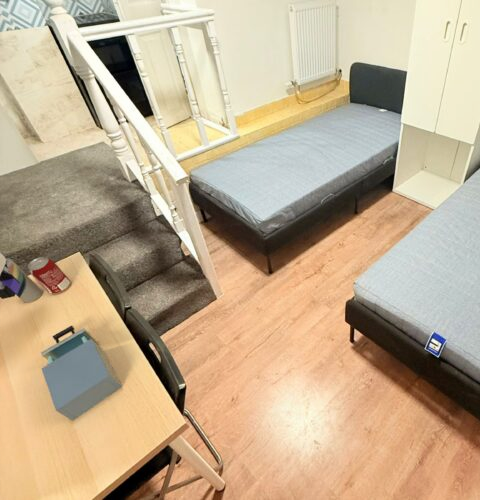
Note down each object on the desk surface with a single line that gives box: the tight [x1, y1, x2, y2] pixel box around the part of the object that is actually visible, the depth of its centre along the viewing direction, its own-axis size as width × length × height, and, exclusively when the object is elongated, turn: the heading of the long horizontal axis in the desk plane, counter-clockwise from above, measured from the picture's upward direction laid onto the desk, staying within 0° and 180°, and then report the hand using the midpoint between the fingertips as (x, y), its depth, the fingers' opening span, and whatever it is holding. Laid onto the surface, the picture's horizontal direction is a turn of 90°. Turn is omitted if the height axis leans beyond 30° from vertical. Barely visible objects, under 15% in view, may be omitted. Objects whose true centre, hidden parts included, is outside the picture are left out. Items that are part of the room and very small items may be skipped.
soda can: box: [27, 256, 71, 295], centre depth 108 cm, size 7×7×12 cm
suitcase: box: [41, 339, 123, 422], centre depth 84 cm, size 14×12×9 cm
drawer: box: [40, 325, 99, 364], centre depth 90 cm, size 19×11×7 cm, turn 43°
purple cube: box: [0, 279, 21, 296], centre depth 93 cm, size 4×4×3 cm
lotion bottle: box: [6, 258, 43, 303], centre depth 103 cm, size 6×6×20 cm
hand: (11, 290), depth 94 cm, fingers closed on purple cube, 3 cm apart
